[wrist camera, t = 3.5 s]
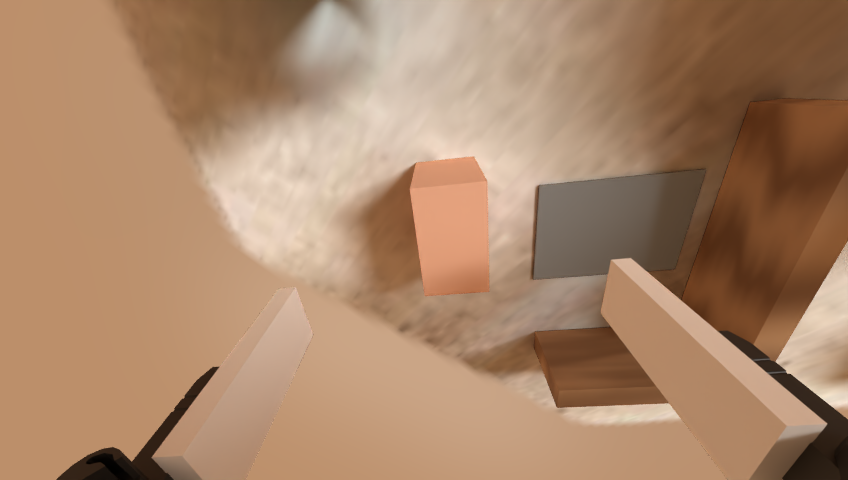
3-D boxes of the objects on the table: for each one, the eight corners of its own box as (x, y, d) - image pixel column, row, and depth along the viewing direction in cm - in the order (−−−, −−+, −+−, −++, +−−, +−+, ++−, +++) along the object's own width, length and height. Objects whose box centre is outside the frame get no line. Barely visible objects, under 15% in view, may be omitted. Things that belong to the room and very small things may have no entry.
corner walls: (550, 124, 19) (594, 139, 14) (785, 98, 18) (929, 103, 13) (533, 347, 28) (556, 407, 23) (690, 338, 27) (752, 399, 22)
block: (416, 162, 21) (409, 188, 16) (473, 156, 21) (487, 181, 15) (427, 249, 24) (424, 296, 19) (477, 245, 24) (489, 291, 18)
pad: (538, 185, 21) (539, 186, 21) (704, 169, 20) (706, 169, 20) (533, 278, 25) (533, 279, 25) (673, 268, 24) (674, 269, 24)
